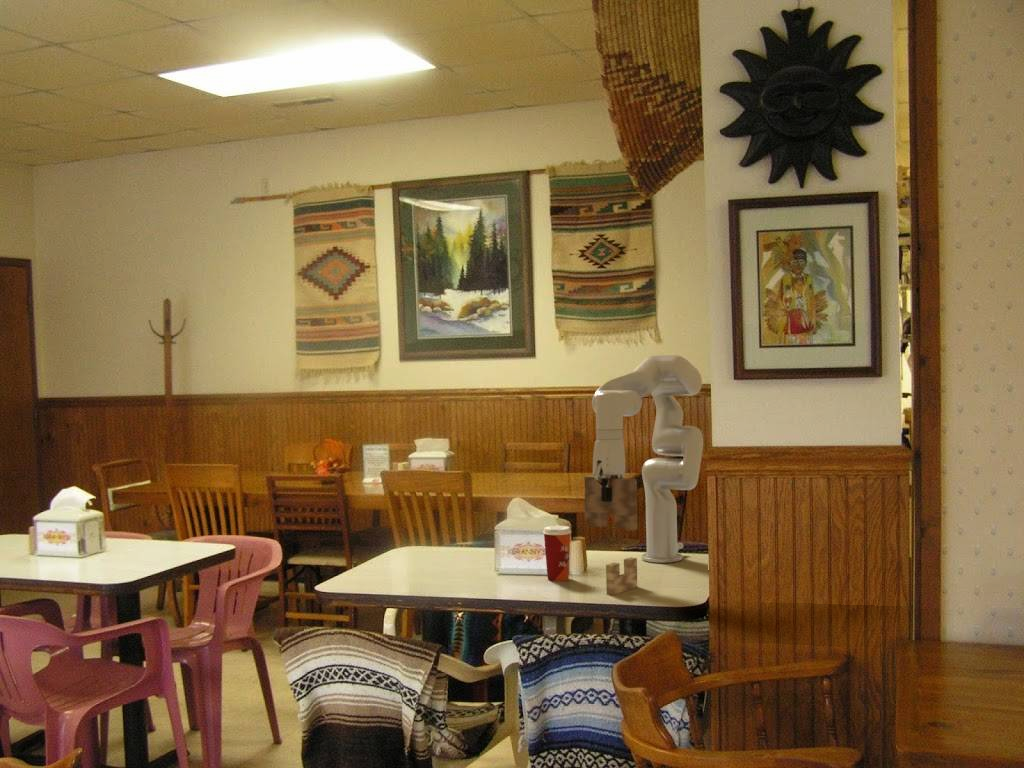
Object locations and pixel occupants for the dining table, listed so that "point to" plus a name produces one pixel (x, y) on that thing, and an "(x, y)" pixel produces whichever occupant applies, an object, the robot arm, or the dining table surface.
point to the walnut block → (611, 503)
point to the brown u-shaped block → (621, 576)
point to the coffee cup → (557, 552)
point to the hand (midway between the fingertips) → (610, 499)
